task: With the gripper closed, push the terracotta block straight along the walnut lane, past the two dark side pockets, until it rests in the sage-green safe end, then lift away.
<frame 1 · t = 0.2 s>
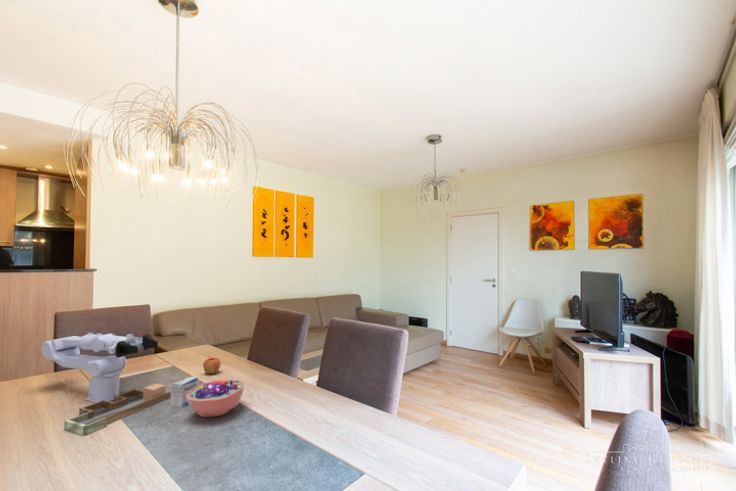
hand: (147, 347, 121), 21 cm above the table, tool horizontal, fingers open, 7 cm apart
medicine box: (184, 404, 123), on the table
block: (154, 398, 126), resting on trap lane
apple: (211, 373, 156), on the table
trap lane: (124, 412, 115), on the table
cell model: (216, 413, 117), on the table
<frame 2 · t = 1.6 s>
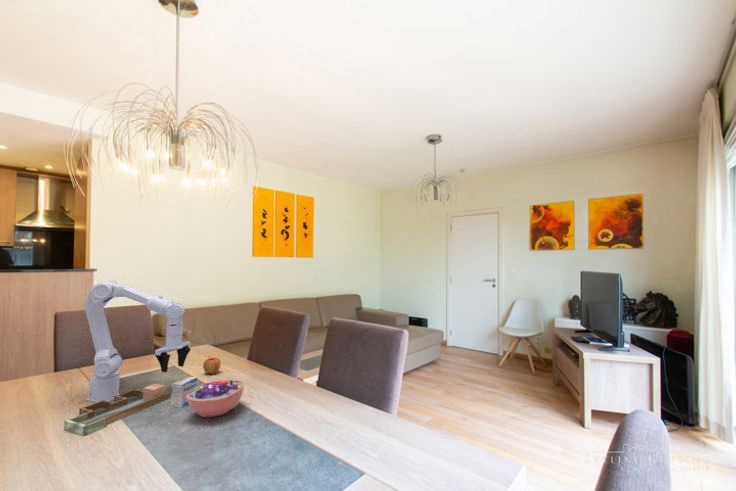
hand: (172, 368, 133), 9 cm above the table, tool pointing down, fingers open, 7 cm apart
nothing on the table moved.
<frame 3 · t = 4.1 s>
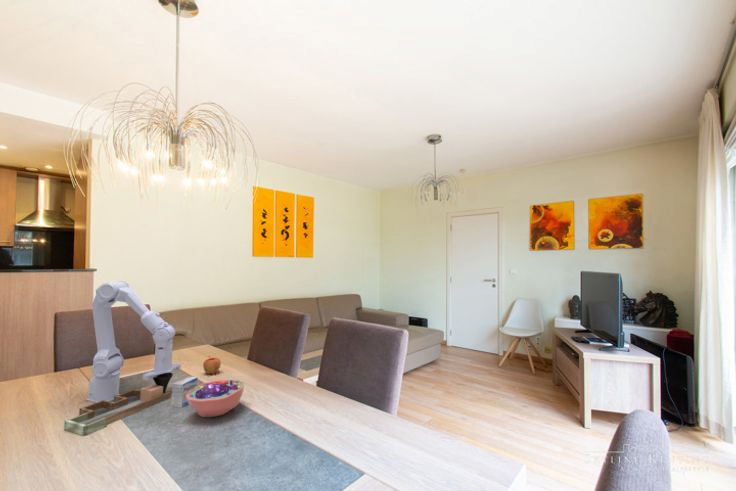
hand: (161, 393, 129), 1 cm above the table, tool pointing down, fingers closed
block: (151, 399, 125), point 1 cm above the table, touching gripper, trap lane
everything else where it was.
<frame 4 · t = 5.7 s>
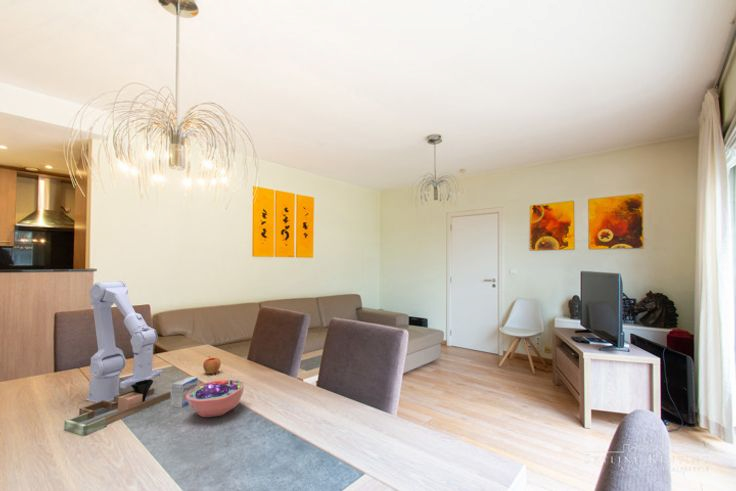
hand: (141, 401, 121), 1 cm above the table, tool pointing down, fingers closed
block: (129, 408, 117), resting on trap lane, touching gripper
everything else where it was.
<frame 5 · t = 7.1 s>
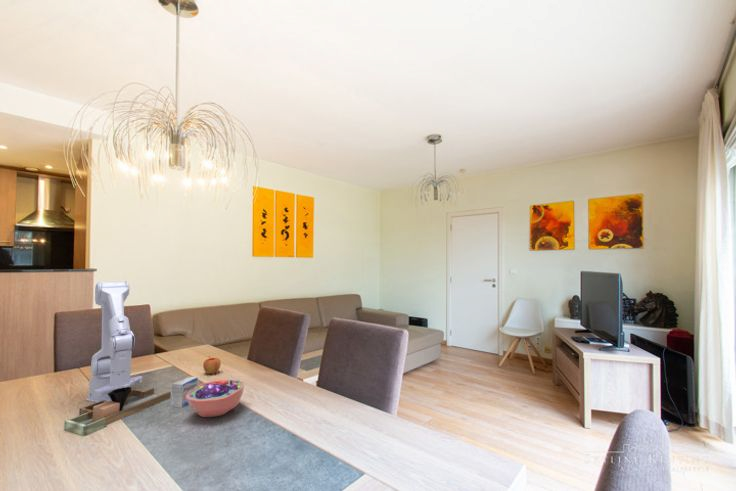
hand: (118, 410, 113), 1 cm above the table, tool pointing down, fingers closed
block: (105, 418, 109), point 1 cm above the table, touching gripper
everything else where it was.
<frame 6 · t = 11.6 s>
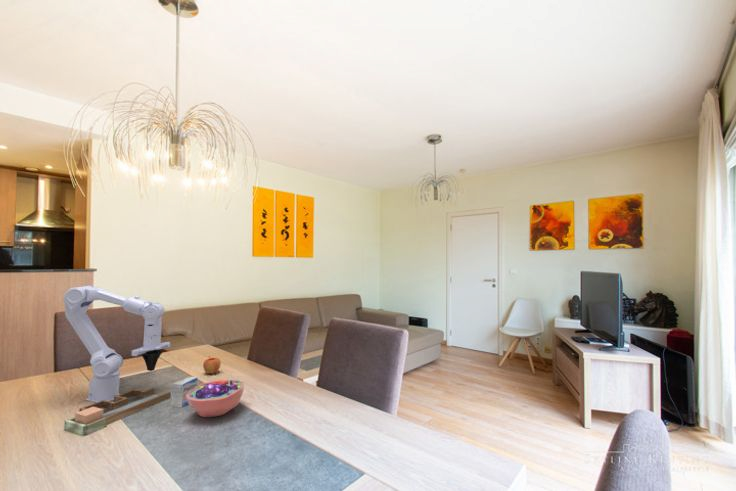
hand: (150, 370, 130), 10 cm above the table, tool pointing down, fingers closed
block: (88, 425, 105), resting on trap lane
everything else where it was.
at the end: block 0.7 cm from the target spot on the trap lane, point 0.5 cm above the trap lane's base; block tilted 0° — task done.
